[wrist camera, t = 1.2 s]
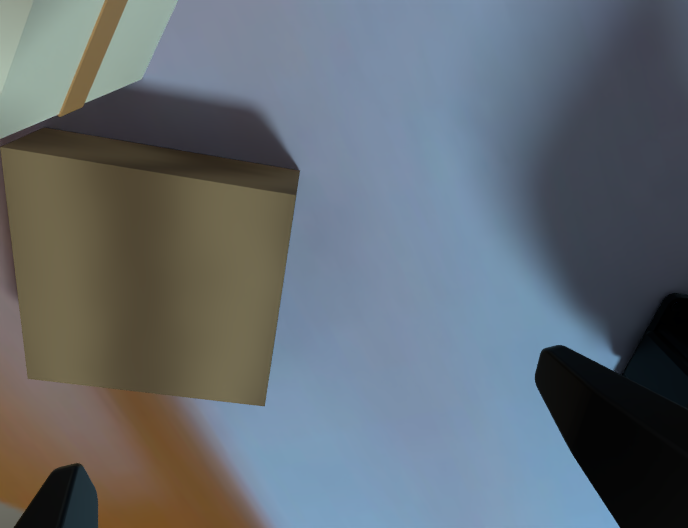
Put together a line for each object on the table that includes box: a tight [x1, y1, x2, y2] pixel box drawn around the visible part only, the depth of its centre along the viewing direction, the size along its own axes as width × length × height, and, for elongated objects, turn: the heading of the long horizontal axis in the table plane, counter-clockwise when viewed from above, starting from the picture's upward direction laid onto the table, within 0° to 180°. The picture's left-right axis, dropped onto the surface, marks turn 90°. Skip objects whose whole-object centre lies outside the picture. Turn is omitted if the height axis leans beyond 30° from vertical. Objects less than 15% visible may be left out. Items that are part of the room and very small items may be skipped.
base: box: [0, 128, 300, 406], centre depth 21 cm, size 10×10×3 cm
